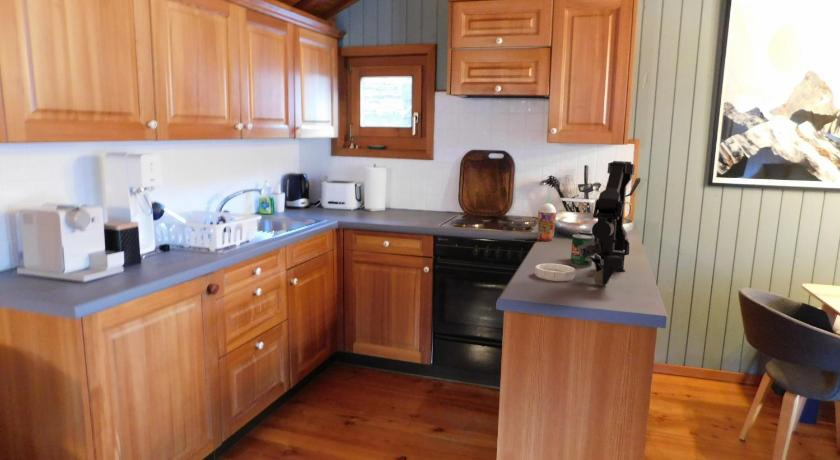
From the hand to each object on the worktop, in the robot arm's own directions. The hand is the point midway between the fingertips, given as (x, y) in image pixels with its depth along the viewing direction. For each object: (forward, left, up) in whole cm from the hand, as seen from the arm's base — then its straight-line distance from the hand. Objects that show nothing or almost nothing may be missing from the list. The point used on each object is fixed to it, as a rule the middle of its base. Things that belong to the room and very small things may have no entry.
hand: (601, 282), depth 189 cm
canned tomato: (-2, -30, -1) cm, 30 cm away
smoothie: (0, -80, -1) cm, 80 cm away
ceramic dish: (+13, -10, -1) cm, 16 cm away
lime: (0, 0, -1) cm, 1 cm away
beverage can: (-6, -40, -1) cm, 41 cm away
